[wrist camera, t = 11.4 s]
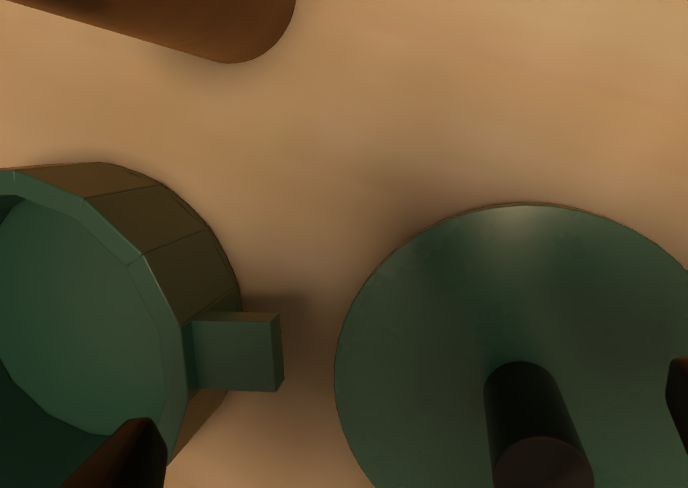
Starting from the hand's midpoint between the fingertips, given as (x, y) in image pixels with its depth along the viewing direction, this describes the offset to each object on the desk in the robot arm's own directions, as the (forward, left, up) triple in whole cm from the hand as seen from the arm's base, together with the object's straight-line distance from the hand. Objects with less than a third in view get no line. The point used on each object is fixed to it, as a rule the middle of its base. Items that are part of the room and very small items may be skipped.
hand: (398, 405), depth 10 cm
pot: (-6, +13, -11) cm, 18 cm away
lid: (-4, -4, -11) cm, 12 cm away
